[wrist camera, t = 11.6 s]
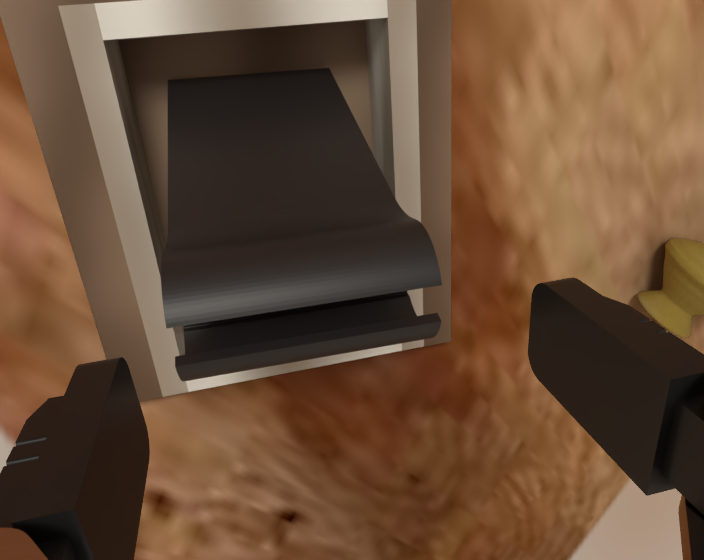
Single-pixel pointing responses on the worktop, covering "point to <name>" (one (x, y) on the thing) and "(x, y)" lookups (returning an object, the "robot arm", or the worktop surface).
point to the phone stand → (283, 228)
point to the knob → (678, 287)
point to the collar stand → (152, 135)
